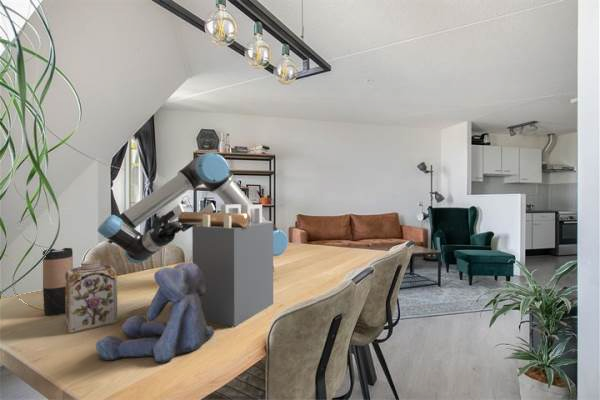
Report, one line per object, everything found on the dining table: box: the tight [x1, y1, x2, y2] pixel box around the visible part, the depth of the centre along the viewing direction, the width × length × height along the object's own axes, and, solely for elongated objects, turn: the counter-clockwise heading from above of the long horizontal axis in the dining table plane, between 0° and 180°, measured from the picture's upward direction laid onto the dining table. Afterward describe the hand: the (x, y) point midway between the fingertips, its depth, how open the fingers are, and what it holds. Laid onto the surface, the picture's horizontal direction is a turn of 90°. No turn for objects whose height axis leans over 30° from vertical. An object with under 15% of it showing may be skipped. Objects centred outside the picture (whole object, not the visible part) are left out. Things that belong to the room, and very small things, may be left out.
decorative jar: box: [65, 260, 119, 334], centre depth 90 cm, size 12×12×18 cm
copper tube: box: [177, 211, 250, 227], centre depth 97 cm, size 26×4×4 cm, turn 63°
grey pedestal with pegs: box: [191, 204, 274, 328], centre depth 100 cm, size 21×16×34 cm
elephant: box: [95, 261, 215, 364], centre depth 78 cm, size 21×25×21 cm
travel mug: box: [42, 247, 74, 317], centre depth 99 cm, size 8×8×20 cm
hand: (198, 206), depth 99 cm, fingers open, 13 cm apart
